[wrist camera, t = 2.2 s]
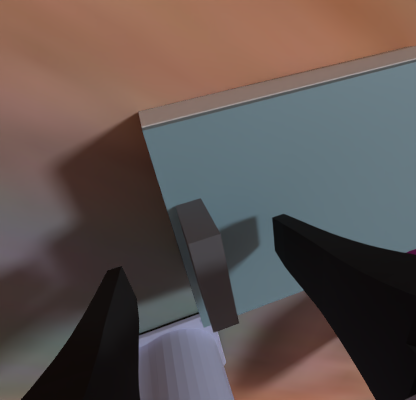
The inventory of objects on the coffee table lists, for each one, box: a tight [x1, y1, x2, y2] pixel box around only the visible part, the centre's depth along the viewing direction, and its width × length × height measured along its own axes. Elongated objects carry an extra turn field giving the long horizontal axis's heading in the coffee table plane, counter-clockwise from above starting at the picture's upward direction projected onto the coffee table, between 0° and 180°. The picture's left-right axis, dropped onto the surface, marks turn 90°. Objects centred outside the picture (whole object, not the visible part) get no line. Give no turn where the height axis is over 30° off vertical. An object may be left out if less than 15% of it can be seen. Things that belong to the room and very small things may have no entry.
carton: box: [139, 46, 416, 128], centre depth 17 cm, size 18×12×4 cm, turn 101°
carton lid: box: [142, 59, 416, 333], centre depth 13 cm, size 18×12×4 cm, turn 101°
